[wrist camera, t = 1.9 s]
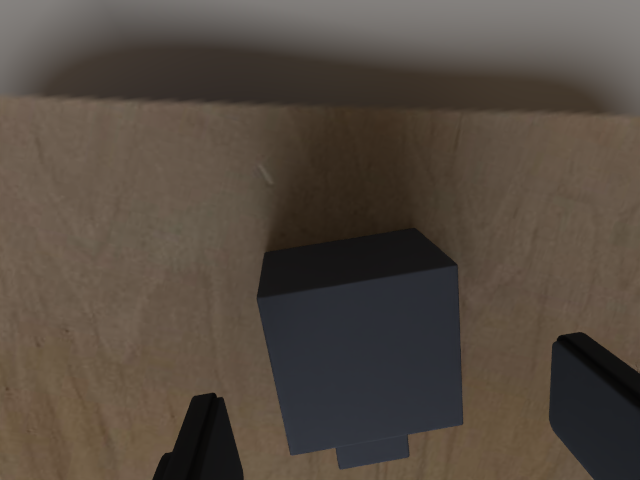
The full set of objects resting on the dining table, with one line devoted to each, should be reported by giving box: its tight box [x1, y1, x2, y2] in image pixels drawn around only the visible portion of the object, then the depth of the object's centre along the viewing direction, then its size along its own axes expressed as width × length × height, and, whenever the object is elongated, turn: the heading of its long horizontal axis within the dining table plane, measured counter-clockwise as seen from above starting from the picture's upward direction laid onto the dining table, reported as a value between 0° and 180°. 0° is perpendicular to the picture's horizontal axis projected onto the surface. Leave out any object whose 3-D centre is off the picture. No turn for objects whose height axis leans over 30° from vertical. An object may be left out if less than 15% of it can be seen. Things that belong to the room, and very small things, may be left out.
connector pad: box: [257, 228, 463, 469], centre depth 15 cm, size 6×9×4 cm, turn 8°
